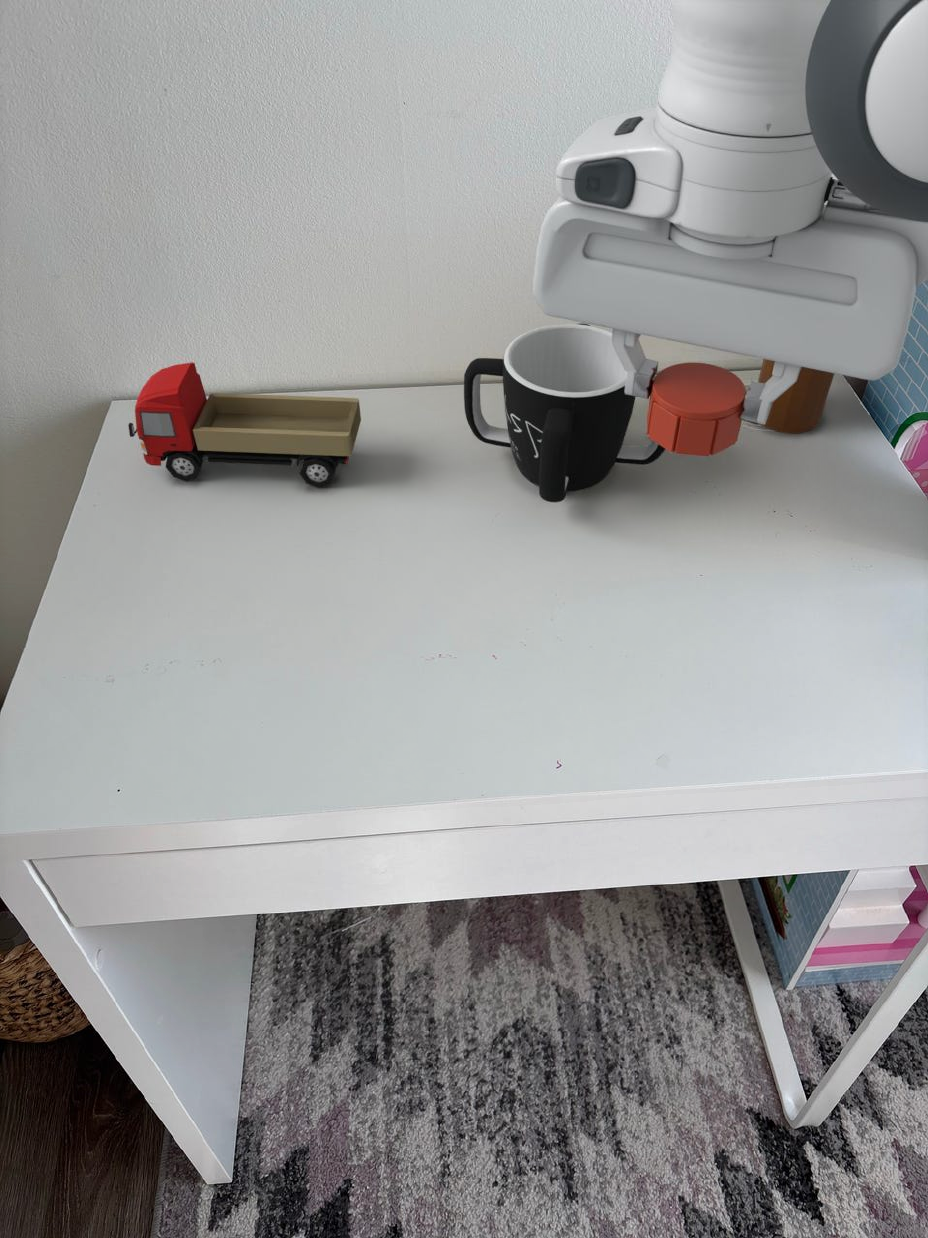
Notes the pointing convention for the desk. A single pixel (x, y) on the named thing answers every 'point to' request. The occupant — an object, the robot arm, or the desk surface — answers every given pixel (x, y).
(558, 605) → the desk surface
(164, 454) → the toy truck
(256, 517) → the desk surface
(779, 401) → the bottle
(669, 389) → the cap
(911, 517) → the desk surface
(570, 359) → the mug
